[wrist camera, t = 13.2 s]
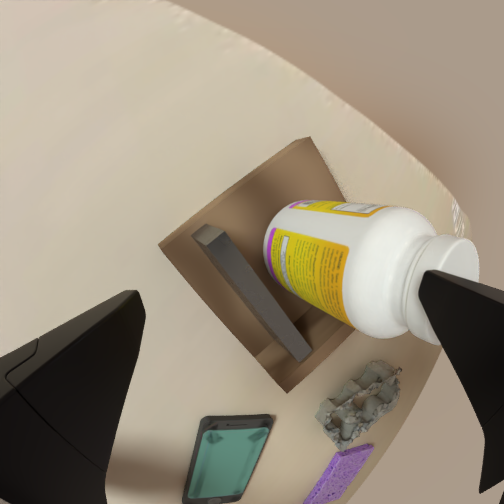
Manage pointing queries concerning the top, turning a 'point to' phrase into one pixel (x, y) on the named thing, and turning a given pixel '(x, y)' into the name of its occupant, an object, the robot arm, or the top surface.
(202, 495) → the smartphone
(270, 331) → the gray flat bar
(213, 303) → the brown piece
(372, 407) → the egg carton
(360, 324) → the supplement bottle
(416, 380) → the top surface
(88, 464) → the robot arm
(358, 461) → the sponges
